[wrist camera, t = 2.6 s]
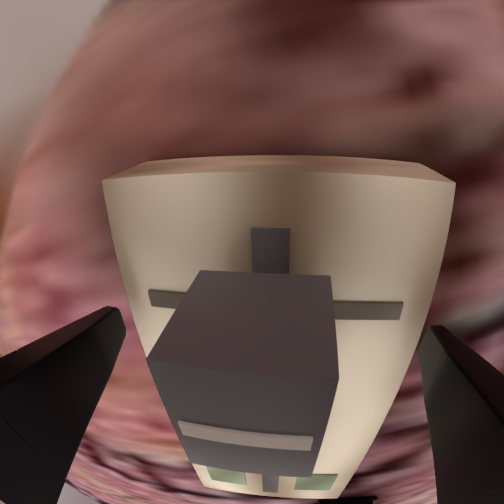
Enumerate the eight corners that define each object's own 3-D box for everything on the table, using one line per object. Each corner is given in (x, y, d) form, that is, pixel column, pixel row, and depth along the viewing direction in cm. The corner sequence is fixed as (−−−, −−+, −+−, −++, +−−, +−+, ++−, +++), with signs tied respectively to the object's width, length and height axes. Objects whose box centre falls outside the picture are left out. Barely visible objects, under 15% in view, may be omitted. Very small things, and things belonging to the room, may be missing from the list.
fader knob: (328, 253, 8) (339, 382, 4) (316, 364, 9) (310, 479, 6) (212, 249, 8) (143, 361, 4) (226, 358, 10) (189, 465, 6)
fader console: (419, 162, 9) (458, 184, 6) (338, 466, 19) (337, 500, 16) (146, 161, 11) (98, 181, 8) (213, 456, 20) (203, 487, 18)
